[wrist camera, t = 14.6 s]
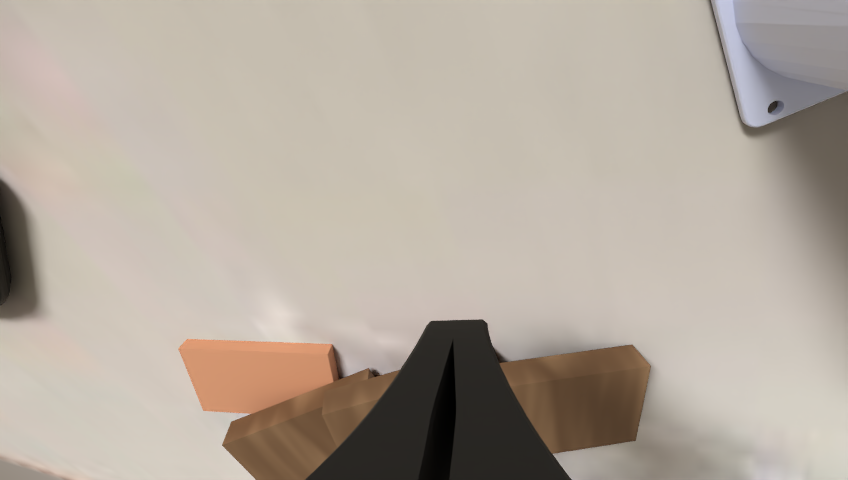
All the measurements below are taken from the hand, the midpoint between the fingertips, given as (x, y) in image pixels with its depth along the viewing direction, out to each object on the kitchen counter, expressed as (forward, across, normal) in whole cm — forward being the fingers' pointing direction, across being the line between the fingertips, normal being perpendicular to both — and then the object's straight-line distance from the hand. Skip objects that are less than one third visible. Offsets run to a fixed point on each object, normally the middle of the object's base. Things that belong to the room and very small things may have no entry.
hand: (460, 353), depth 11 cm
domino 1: (+10, +5, +12) cm, 16 cm away
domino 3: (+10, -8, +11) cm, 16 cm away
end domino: (+11, +8, +11) cm, 17 cm away
